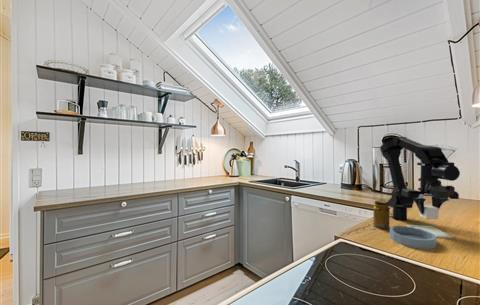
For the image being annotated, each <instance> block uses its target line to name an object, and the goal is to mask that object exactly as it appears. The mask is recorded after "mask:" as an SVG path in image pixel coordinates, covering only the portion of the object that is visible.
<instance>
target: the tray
mask: <svg viewBox="0 0 480 305" xmlns="http://www.w3.org/2000/svg"><path fill="white" fill-rule="evenodd" d="M405 226H407V227H414V228H418V229H422V230H425V231H428V232H430V233H432V234H434V235H435V236H436V238H438V239H439V238H441V239H453V236H451V235H449V234H448V233H446V232H444V231H442V230H440V229H438V228H436V227H434V226H433V225H420V224H419V225H413V224H411V225H410V224H406V225H405Z"/></svg>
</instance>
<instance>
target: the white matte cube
mask: <svg viewBox="0 0 480 305" xmlns="http://www.w3.org/2000/svg"><path fill="white" fill-rule="evenodd" d="M439 210H440V208H436V207H434V206H432V205H430V204H428V205H427V204H424V214H421V213H420V211H419V210H418V212H419V213H418V216H420V217H422V218H423V219H425V220H439Z"/></svg>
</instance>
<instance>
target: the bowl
mask: <svg viewBox="0 0 480 305" xmlns="http://www.w3.org/2000/svg"><path fill="white" fill-rule="evenodd" d="M389 239H391V240H392V241H393V242H394V243H396V244H398V245H402V246H405V247H409V248H416V249H421V250H430V249H435V248H436V247H437V238H436V236H435V235H434V234H432V233H430V232H428V231H425V230H422V229H418V228H414V227H407V226H406V225H395V226H391V227H389Z"/></svg>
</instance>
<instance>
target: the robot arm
mask: <svg viewBox="0 0 480 305" xmlns="http://www.w3.org/2000/svg"><path fill="white" fill-rule="evenodd" d="M379 149H380V152H381V155H382V157H383V158H384V159H385V160H386V161H387V165H388V170H389V172H390V177H391V181H392V186H393V189H392V191H391V197H390V198H389V199H388V200H387V202H388V203H389V204H388V205H389V208H392V215H389V218H391V219H393V220H395V221H398V222H399V221H401V222H402V221H403V222H405V221H406V222H410V221H411V220H410V219H409V218H408V209H412V208H413V205H414V203H415V205H416V207H417V209H418V212H419V211H420V213H421V214H424V205H425V201H426V200H427V199H426V198H424V196H425V197H431V204H432V205H431V206H434V207H436V208H439V209H441V206H442V205H443V203H445V202H448V201H449V202H450V199H451V200H459V199H460V195H459V192H458V191H456V190H455V186H453V185H442V180H444V181H451V182H453V181H457V180H458V178H459V177H460V176H461V173H460V172H461V171H460V170H459V168H458V167H457V166H455V162H451V161H449V160H448V158H447V157H446V155H445V153H444V152H443V151H442V149H443V148H441V147H440V146H434V145H427V144H422V143H419V142H417V141H415V140H411V139H410V138H407V137H406V136H396V137H394V138H392V139H390V140H388V141H386V142H383V143H382V144H381V146H380V148H379ZM403 149H405V150H407V151H410V152H412V153H413V154H414V156H415V157H416V158H417V159H418V160H420V161H419V162H417V164H416V165H417V166H420V177H419V178H417V179H418V182H420V184H419V185H420V187H418V188H417V190H416V189H413V188H408V187H407V186H406V182H405V178H404V175H403V171H402V167H401V162H400V156H401V153H402V150H403Z"/></svg>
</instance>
